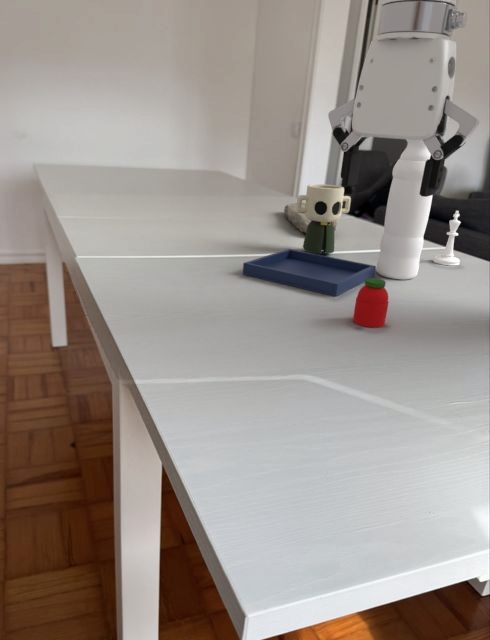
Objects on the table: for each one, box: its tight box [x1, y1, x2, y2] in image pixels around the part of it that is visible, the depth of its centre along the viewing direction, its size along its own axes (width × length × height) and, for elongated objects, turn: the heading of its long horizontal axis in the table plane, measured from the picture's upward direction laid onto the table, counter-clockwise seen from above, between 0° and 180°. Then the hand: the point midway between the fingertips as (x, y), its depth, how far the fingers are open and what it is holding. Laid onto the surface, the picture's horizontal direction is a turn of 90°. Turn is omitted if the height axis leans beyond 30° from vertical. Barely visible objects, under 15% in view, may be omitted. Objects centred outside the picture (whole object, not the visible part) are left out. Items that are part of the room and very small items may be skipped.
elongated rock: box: [283, 202, 338, 234], centre depth 139 cm, size 35×5×10 cm
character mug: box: [296, 183, 352, 254], centre depth 109 cm, size 11×7×13 cm, turn 99°
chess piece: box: [432, 210, 462, 267], centre depth 106 cm, size 5×5×10 cm
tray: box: [242, 248, 377, 297], centre depth 94 cm, size 17×15×2 cm
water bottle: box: [375, 139, 434, 281], centre depth 93 cm, size 7×7×25 cm
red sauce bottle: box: [352, 277, 389, 328], centre depth 73 cm, size 4×4×6 cm
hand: (386, 190), depth 66 cm, fingers open, 9 cm apart
